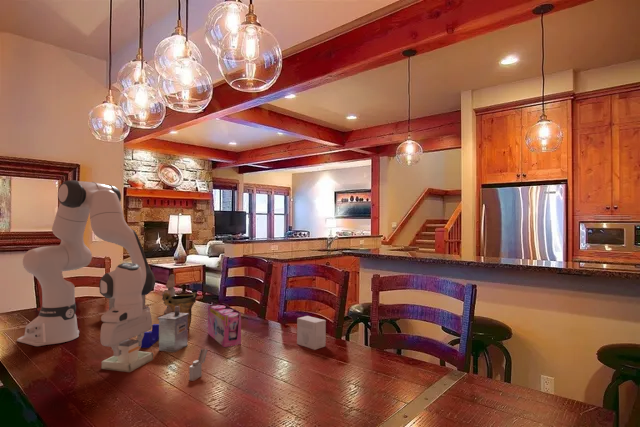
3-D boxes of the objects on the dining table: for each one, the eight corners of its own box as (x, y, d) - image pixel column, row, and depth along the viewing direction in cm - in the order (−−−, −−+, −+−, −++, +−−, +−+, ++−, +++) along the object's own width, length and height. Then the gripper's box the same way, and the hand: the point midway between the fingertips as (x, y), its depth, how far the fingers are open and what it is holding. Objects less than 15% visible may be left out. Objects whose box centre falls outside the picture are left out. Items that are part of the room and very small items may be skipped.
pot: (169, 337, 157) (170, 294, 158) (155, 332, 164) (156, 291, 164) (204, 328, 171) (204, 288, 171) (190, 323, 178) (190, 286, 178)
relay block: (128, 365, 126) (129, 344, 126) (117, 364, 127) (117, 343, 127) (138, 360, 130) (139, 340, 131) (127, 359, 132) (127, 339, 132)
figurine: (173, 309, 206) (173, 273, 206) (183, 311, 201) (183, 274, 202) (159, 313, 198) (159, 275, 198) (169, 315, 194) (169, 276, 194)
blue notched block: (150, 338, 157) (150, 324, 157) (160, 338, 157) (160, 323, 157) (137, 348, 145) (137, 332, 145) (148, 348, 145) (149, 332, 145)
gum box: (242, 345, 148) (243, 313, 148) (224, 348, 144) (225, 316, 144) (223, 331, 167) (224, 302, 167) (207, 333, 163) (207, 304, 163)
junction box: (157, 350, 142) (157, 309, 142) (171, 343, 150) (172, 304, 150) (175, 352, 140) (175, 311, 140) (188, 345, 148) (189, 305, 148)
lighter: (193, 381, 115) (193, 355, 115) (188, 380, 116) (189, 354, 116) (207, 372, 122) (207, 347, 122) (202, 371, 123) (203, 347, 123)
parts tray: (101, 368, 125) (101, 361, 125) (126, 356, 135) (126, 349, 136) (129, 372, 122) (129, 364, 122) (152, 359, 133) (153, 352, 133)
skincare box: (326, 346, 147) (326, 319, 148) (315, 350, 143) (315, 322, 143) (307, 340, 155) (307, 314, 155) (296, 344, 150) (296, 317, 150)
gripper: (142, 303, 140) (141, 340, 140) (97, 317, 120) (96, 360, 120) (156, 304, 138) (156, 341, 138) (113, 319, 118) (112, 362, 118)
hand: (128, 350), depth 129 cm, fingers open, 8 cm apart
